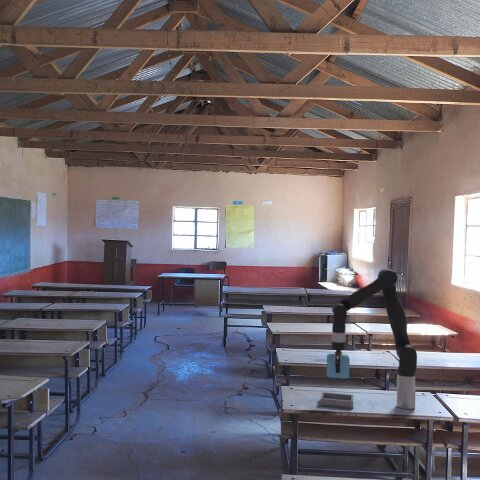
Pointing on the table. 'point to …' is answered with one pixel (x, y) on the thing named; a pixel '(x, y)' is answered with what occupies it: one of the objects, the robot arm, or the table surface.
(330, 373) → the light blue flat block
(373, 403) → the table surface
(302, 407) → the table surface
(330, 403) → the holder tray
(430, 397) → the table surface
